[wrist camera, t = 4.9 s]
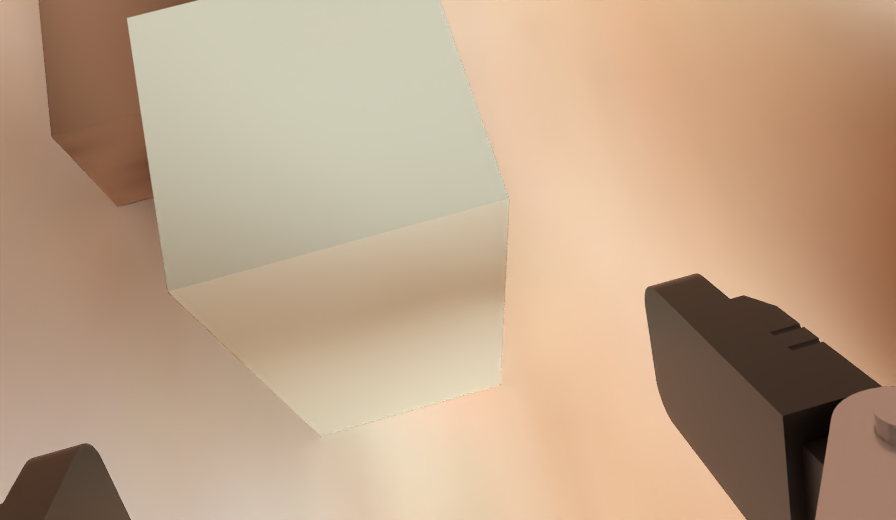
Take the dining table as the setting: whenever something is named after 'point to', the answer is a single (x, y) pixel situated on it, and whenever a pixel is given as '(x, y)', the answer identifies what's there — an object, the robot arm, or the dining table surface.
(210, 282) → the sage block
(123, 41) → the walnut plinth
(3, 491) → the dining table surface
